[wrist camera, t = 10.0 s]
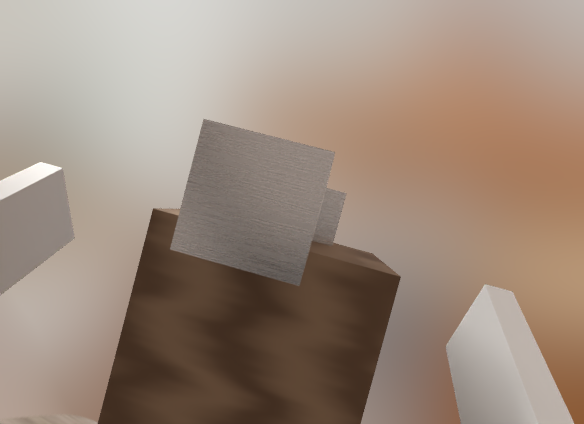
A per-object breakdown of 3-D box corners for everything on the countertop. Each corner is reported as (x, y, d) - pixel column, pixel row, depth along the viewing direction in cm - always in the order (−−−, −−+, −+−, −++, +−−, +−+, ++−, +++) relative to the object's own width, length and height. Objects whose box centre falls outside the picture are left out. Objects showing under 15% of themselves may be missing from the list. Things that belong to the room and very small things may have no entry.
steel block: (123, 236, 11) (156, 107, 11) (251, 220, 31) (263, 174, 31) (349, 300, 10) (386, 165, 10) (330, 241, 30) (343, 195, 30)
